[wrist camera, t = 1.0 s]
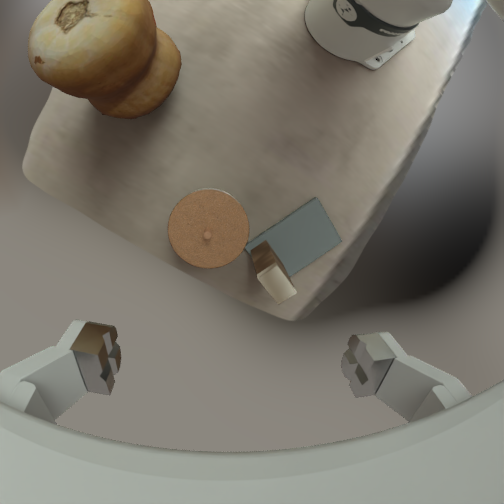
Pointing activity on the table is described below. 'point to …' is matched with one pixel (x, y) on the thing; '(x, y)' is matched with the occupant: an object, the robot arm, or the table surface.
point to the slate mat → (300, 236)
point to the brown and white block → (272, 273)
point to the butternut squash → (105, 54)
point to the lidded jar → (208, 228)
